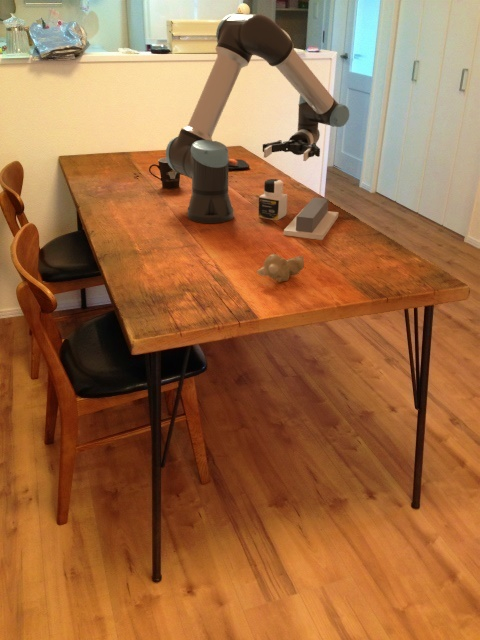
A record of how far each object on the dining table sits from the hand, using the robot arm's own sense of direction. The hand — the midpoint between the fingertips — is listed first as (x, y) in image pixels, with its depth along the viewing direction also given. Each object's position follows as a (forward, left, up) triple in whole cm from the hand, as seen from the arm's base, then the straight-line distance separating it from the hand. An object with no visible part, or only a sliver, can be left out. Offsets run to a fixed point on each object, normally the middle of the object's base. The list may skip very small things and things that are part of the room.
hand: (284, 155), depth 197 cm
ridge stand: (-9, -18, -18) cm, 27 cm away
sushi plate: (+31, +62, -19) cm, 72 cm away
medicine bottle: (-10, -3, -18) cm, 21 cm away
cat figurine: (-49, -35, -18) cm, 64 cm away
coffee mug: (-8, +49, -18) cm, 53 cm away
